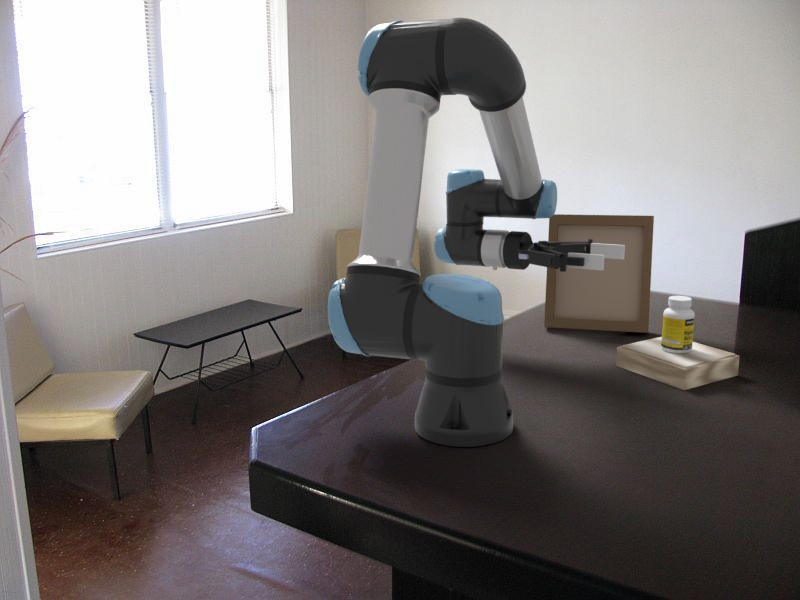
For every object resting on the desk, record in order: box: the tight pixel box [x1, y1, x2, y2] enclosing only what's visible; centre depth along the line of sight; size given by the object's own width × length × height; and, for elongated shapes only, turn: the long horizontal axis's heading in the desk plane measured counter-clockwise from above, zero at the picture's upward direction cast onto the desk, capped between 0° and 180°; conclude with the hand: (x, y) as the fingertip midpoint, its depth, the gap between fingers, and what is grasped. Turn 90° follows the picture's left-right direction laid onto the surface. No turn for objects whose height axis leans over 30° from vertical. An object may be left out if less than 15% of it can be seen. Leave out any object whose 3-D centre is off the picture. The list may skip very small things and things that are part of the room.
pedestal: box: [615, 336, 740, 391], centre depth 147 cm, size 14×16×4 cm
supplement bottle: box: [661, 295, 696, 354], centre depth 145 cm, size 5×5×10 cm
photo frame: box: [543, 213, 655, 334], centre depth 175 cm, size 15×22×25 cm
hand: (614, 257), depth 148 cm, fingers open, 13 cm apart
